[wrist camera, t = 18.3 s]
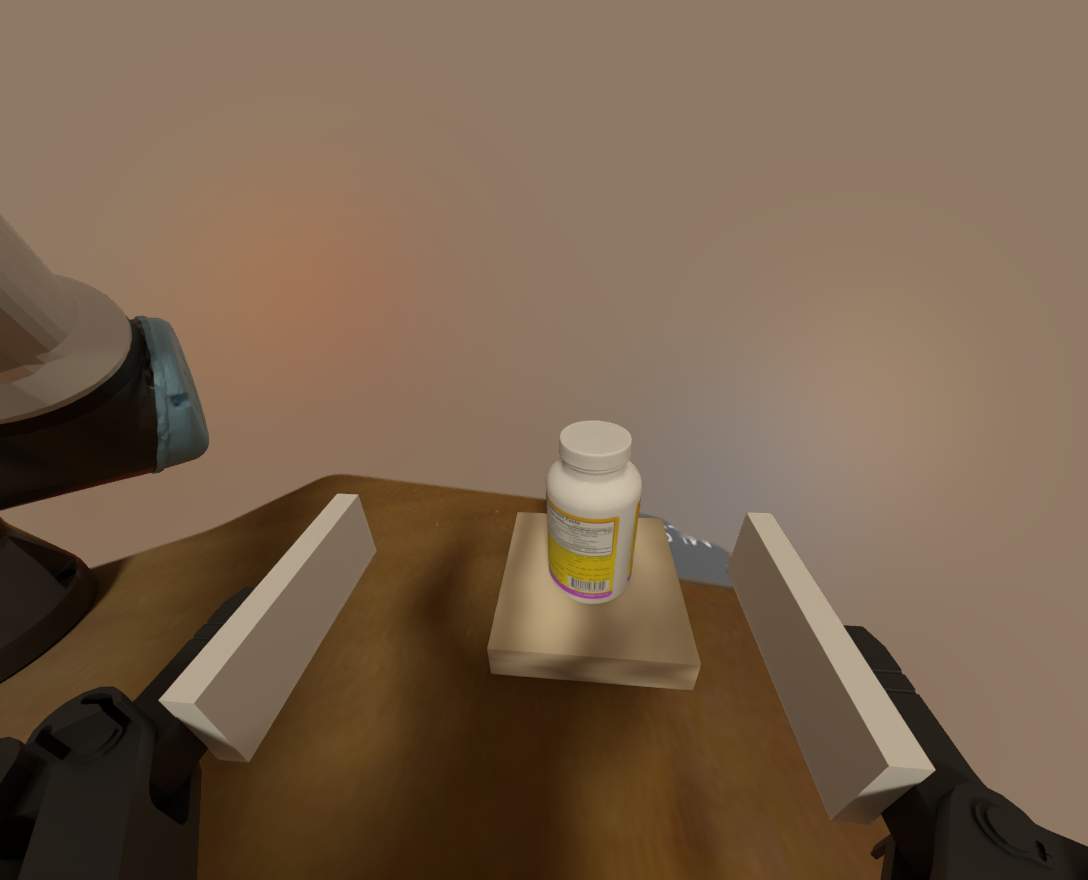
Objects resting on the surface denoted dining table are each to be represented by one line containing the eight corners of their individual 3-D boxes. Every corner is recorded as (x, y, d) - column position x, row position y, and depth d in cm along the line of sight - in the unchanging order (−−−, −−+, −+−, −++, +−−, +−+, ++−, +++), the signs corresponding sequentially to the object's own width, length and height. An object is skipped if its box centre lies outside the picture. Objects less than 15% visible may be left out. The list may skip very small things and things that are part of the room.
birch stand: (491, 673, 27) (487, 648, 26) (519, 534, 39) (518, 512, 38) (692, 690, 26) (700, 665, 25) (658, 541, 38) (662, 518, 37)
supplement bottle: (593, 532, 35) (601, 405, 29) (648, 580, 30) (671, 441, 24) (532, 565, 32) (525, 430, 26) (582, 625, 27) (589, 477, 21)
